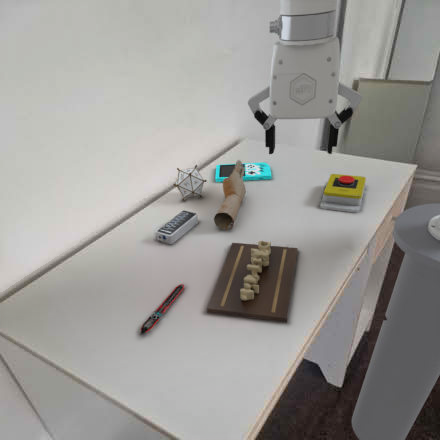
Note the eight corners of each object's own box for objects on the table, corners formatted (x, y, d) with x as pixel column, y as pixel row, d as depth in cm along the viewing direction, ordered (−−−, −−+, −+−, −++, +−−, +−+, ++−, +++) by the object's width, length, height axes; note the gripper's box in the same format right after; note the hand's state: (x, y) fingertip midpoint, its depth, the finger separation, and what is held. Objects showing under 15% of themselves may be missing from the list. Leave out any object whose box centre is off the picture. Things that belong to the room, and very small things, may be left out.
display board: (297, 251, 78) (297, 247, 77) (286, 322, 62) (287, 318, 62) (232, 246, 81) (232, 242, 80) (207, 312, 66) (206, 308, 65)
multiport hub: (199, 221, 89) (198, 213, 88) (171, 244, 83) (170, 236, 81) (184, 218, 91) (183, 209, 90) (156, 240, 85) (154, 231, 83)
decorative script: (254, 248, 78) (254, 234, 75) (272, 250, 77) (273, 236, 75) (238, 304, 65) (237, 289, 63) (259, 306, 64) (259, 292, 62)
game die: (197, 211, 101) (198, 194, 91) (168, 199, 101) (167, 180, 91) (209, 184, 103) (212, 164, 93) (181, 172, 103) (181, 151, 93)
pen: (187, 286, 71) (187, 283, 71) (146, 336, 62) (145, 333, 61) (179, 284, 72) (178, 281, 71) (137, 333, 63) (136, 330, 62)
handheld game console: (271, 179, 105) (271, 175, 104) (215, 182, 106) (214, 178, 105) (268, 165, 112) (269, 161, 111) (216, 168, 113) (216, 163, 112)
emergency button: (368, 169, 95) (362, 196, 85) (365, 185, 98) (358, 213, 88) (331, 166, 98) (321, 191, 88) (329, 182, 101) (319, 208, 91)
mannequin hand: (209, 235, 89) (237, 182, 105) (237, 232, 85) (262, 177, 101) (198, 210, 84) (229, 158, 100) (227, 206, 81) (255, 153, 97)
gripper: (241, 37, 51) (246, 159, 62) (374, 27, 47) (354, 159, 58) (250, 29, 56) (253, 143, 68) (370, 20, 53) (352, 142, 64)
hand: (300, 151), depth 63 cm, fingers open, 9 cm apart
